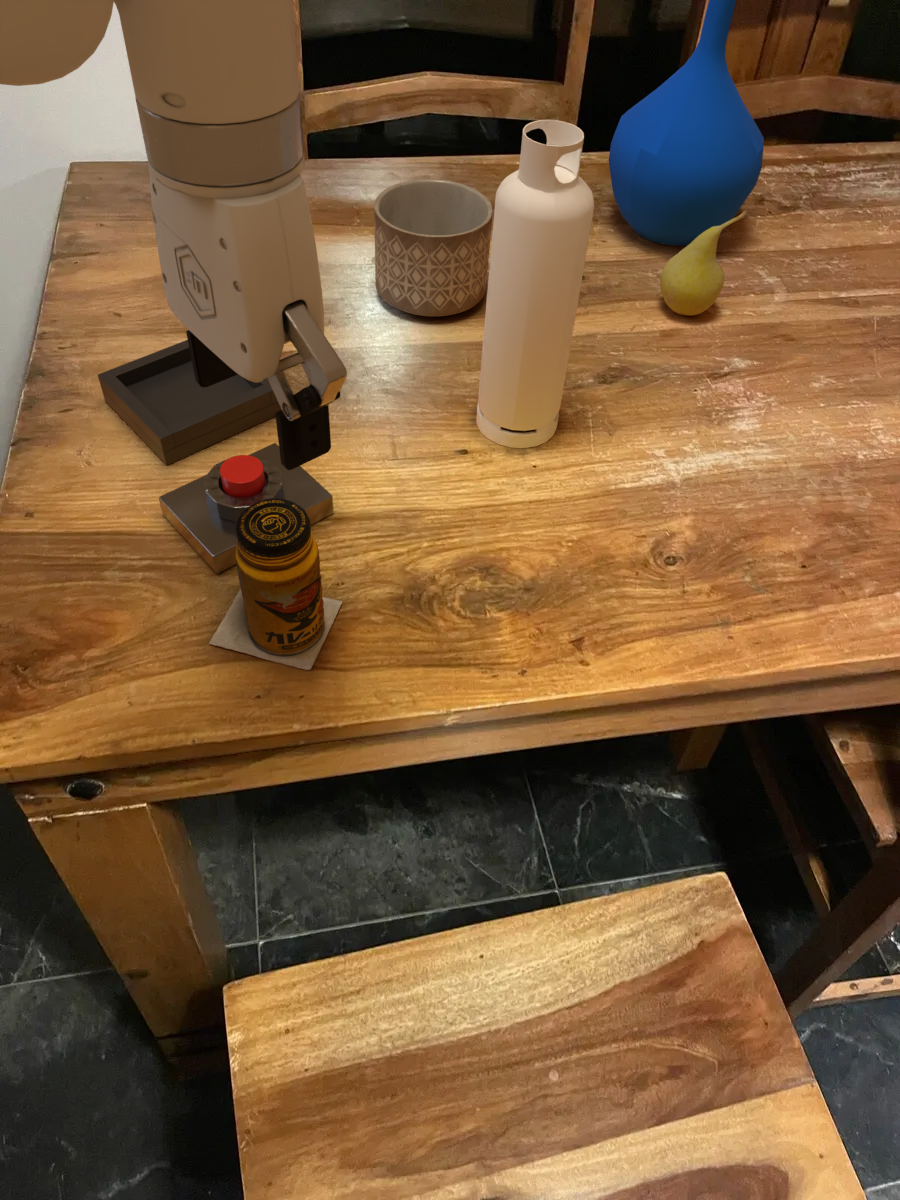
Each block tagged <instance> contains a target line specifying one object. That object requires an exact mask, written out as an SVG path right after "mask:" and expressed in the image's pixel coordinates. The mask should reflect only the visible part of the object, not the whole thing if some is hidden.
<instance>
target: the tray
mask: <svg viewBox="0 0 900 1200" xmlns="http://www.w3.org/2000/svg"><path fill="white" fill-rule="evenodd" d="M97 379H98V382H99V384H100V385H99V386H100V388H101V391H102V395H103V398H104V402H105V403H106V404H107V405H108V406H109V407H110V408H111V410H112V411H114V413H116V414H117V415H118V416H119V417H120V418H121V419H122V421H123V422H124V423H125V424H126V425H127V426H128V427H129V428H130V429H131V430H132V431H133V432H134V433H135V434H136V435H137V436H138V437H139V438H140V439H141V441H143V443H144V444H145V445H146V446H147V447H148V448H149V449H150V450H151V451H152V452H153V453H154V454H155V455H156V456H157V457H158V458H159V459H160V460H161V461H162V462H163V464H164V465H165V466H170V465H171V464H173V463H175V462H178V461H180V460H182V459H184V458H187V457H189V456H191V455H193V454H196V453H198V452H200V451H203V450H204V449H206V448H209V447H211V446H213V445H215V444H218V443H219V442H223V441H224V440H226V439H229V438H231V437H234V436H235V435H238V434H240V433H242V432H244V431H247V430H249V429H251V428H253V427H255V426H257V425H259V424H262V423H264V422H266V421H268V420H270V419H274V418H276V416H275V413H277V412H278V411H279V410H282V409H281V407H280V405H279V403H278V400H277V398H276V396H275V394H274V392H273V389H272V387H271V385H270V383H269V380H268V378H266V379H264V380H263V381H261V382H258V383H256V382H252V381H249V380H247V379H245V378H243V377H242V376H240V375H239V374H238V375H235V376H233V377H231V378H228V379H226V380H223V381H221V382H218V383H216V384H214V385H211V386H209V387H201V386H200V385H199V384H198V383H197V382H196V380H195V375H194V370H193V365H192V359H191V354H190V349H189V344H188V339H185V340H183V341H180V342H178V343H176V344H173V345H170V346H168V347H165V348H162V349H160V350H157V351H154V352H152V353H150V354H147V355H145V356H142V357H139V358H137V359H134V360H131V361H129V362H127V363H123V364H121V365H118V366H115V367H113V368H111V369H108V370H106V371H103V372H101V373H98V374H97Z"/></svg>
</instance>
